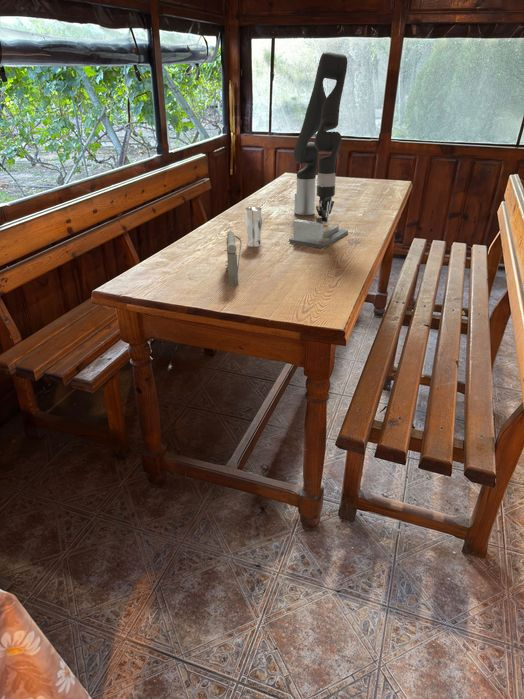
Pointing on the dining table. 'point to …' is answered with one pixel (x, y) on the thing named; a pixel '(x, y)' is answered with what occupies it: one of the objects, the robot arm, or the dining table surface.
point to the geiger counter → (232, 258)
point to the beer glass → (253, 225)
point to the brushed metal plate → (308, 231)
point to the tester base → (325, 237)
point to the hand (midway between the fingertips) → (324, 225)
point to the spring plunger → (323, 223)
